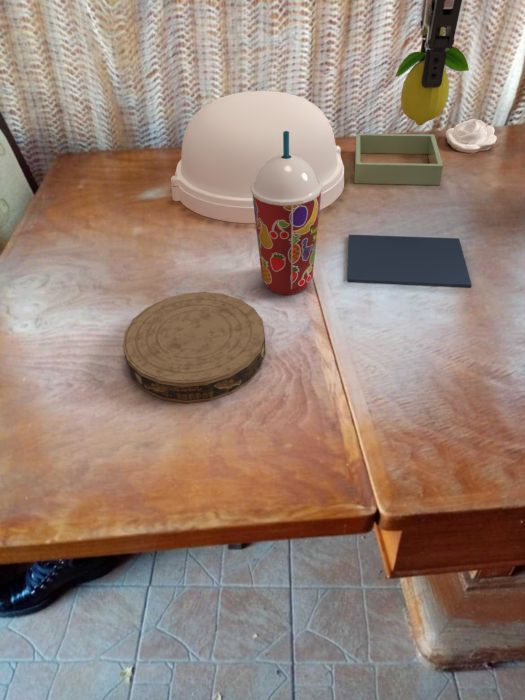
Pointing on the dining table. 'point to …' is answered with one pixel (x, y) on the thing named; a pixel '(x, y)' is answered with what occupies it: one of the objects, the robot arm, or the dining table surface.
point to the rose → (471, 136)
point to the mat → (407, 260)
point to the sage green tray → (398, 171)
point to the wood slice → (195, 347)
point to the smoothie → (286, 220)
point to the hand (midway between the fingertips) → (428, 79)
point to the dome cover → (251, 151)
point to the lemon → (423, 100)
